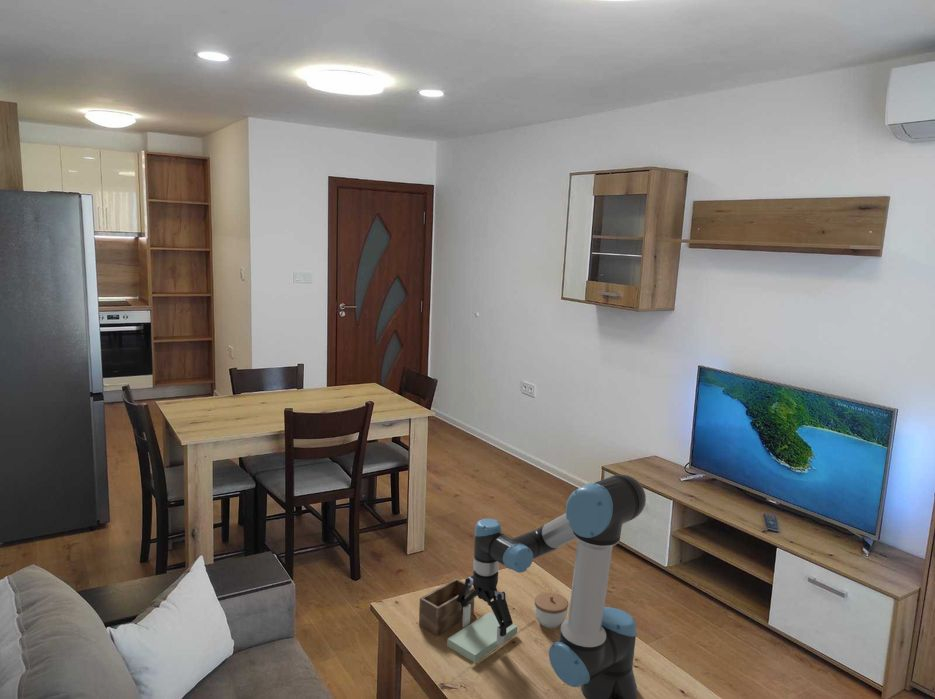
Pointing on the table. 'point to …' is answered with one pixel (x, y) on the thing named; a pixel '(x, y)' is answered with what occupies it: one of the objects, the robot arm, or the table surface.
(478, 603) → the table surface
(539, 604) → the lidded jar
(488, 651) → the lid
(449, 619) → the box
